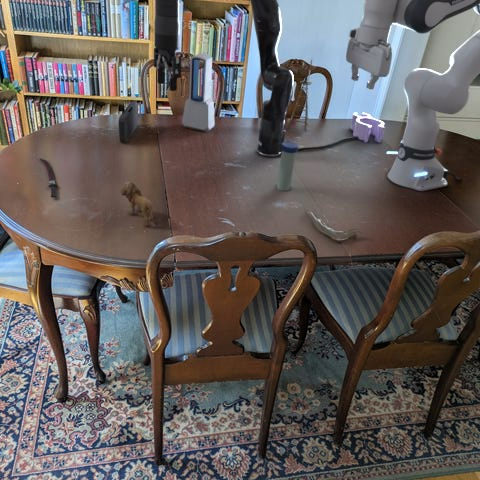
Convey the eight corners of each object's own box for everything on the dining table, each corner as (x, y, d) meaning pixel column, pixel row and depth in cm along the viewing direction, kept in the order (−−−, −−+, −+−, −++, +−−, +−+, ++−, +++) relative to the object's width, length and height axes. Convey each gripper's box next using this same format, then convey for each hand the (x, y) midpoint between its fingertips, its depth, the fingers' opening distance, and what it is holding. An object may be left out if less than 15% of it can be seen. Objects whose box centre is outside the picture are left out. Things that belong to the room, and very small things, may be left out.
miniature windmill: (306, 131, 212) (318, 62, 195) (287, 128, 213) (298, 59, 196) (307, 125, 219) (319, 58, 203) (289, 122, 220) (300, 55, 204)
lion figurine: (118, 210, 138) (116, 182, 133) (132, 204, 141) (131, 177, 137) (151, 229, 130) (150, 201, 126) (165, 223, 134) (165, 195, 129)
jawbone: (347, 249, 132) (348, 244, 131) (288, 222, 142) (289, 217, 141) (362, 236, 138) (364, 230, 136) (304, 210, 148) (305, 205, 147)
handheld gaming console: (132, 123, 199) (131, 100, 194) (138, 124, 200) (137, 100, 194) (118, 143, 180) (117, 117, 175) (125, 143, 180) (124, 118, 175)
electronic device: (214, 128, 204) (219, 56, 188) (208, 133, 198) (212, 59, 182) (188, 122, 207) (190, 51, 191) (181, 127, 201) (183, 54, 185)
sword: (61, 197, 141) (61, 193, 140) (50, 198, 139) (50, 194, 139) (49, 160, 164) (48, 156, 163) (39, 160, 163) (39, 157, 162)
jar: (276, 183, 163) (282, 142, 155) (290, 185, 163) (297, 144, 155) (276, 189, 159) (282, 147, 151) (290, 191, 159) (297, 149, 151)
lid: (281, 145, 156) (282, 140, 155) (297, 147, 156) (298, 142, 155) (281, 151, 152) (281, 146, 151) (297, 153, 151) (298, 148, 150)
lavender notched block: (343, 126, 223) (346, 112, 219) (367, 127, 225) (371, 113, 221) (360, 142, 206) (364, 127, 202) (386, 142, 209) (390, 127, 205)
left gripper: (189, 36, 136) (188, 92, 145) (167, 27, 145) (167, 80, 154) (166, 36, 132) (166, 94, 141) (145, 27, 142) (146, 81, 150)
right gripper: (402, 44, 130) (388, 94, 138) (364, 30, 147) (354, 75, 154) (382, 43, 129) (370, 94, 136) (347, 29, 145) (338, 75, 152)
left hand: (166, 86), depth 148 cm, fingers open, 8 cm apart
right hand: (361, 84), depth 145 cm, fingers open, 8 cm apart
